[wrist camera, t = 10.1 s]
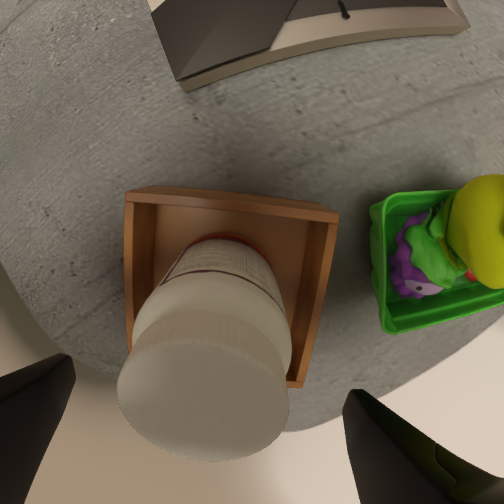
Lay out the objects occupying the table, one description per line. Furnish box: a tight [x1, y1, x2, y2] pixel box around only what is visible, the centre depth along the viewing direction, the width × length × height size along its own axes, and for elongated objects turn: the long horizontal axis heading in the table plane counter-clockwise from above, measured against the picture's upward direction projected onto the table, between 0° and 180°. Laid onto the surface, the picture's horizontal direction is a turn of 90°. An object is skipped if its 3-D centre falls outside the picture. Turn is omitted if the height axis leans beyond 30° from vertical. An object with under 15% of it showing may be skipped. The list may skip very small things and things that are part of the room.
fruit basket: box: [369, 174, 504, 335], centre depth 13 cm, size 11×9×11 cm
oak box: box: [124, 185, 340, 388], centre depth 17 cm, size 10×10×4 cm
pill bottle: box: [117, 233, 292, 462], centre depth 13 cm, size 6×6×11 cm
